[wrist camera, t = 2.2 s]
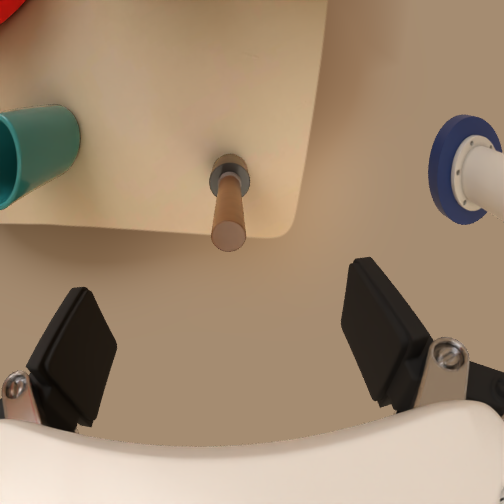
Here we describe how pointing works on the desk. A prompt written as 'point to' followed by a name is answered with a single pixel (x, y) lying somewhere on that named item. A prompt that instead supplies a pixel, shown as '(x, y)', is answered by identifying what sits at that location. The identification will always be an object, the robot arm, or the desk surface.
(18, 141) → the cup
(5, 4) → the vase
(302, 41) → the desk surface
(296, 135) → the desk surface
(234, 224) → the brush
